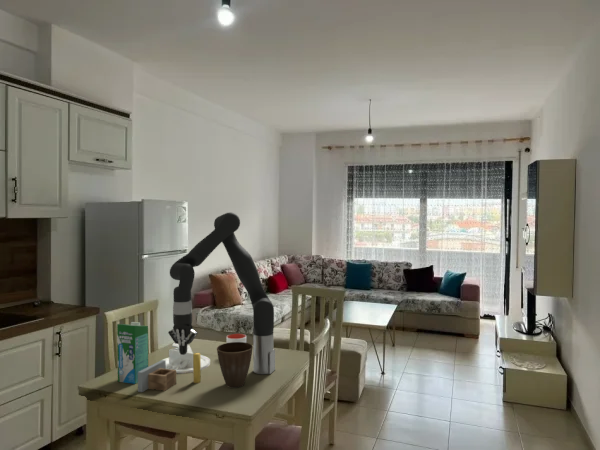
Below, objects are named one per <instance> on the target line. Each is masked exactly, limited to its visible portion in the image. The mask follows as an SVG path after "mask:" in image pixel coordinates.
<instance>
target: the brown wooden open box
mask: <svg viewBox="0 0 600 450" xmlns="http://www.w3.org/2000/svg"><path fill="white" fill-rule="evenodd" d="M174 386H177V373H176V370H173V369H164V368H159V369H157V370H155V371H153V372H152V373H150V374H148V389H147V390H154V389H156V390H157V391H161V390H163V391H162V392H165V391H167V390H170V389H171V388H172V387H174ZM156 390H155V391H156Z"/></svg>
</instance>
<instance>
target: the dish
mask: <svg viewBox="0 0 600 450" xmlns="http://www.w3.org/2000/svg"><path fill="white" fill-rule="evenodd" d="M171 347H172V348H171V349H168V357H166V358H163V359H162V360H165V361H166V369H173V370H176V374H187V373H188V374H190V373H193V354H194V352H193V350H192V347H191V346H190V344H188V345H187V353H186V354H184V355H181V354H180V352H179V345H178V344H175V342H174V341H173V343H172V345H171ZM173 347H174V348H173ZM200 361H201V371H202V370H204V369H206V368H208V367H209V366H210V365H211V358H209V357H207V356H205V355H202V354H200Z"/></svg>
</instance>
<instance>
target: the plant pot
mask: <svg viewBox="0 0 600 450" xmlns="http://www.w3.org/2000/svg"><path fill="white" fill-rule="evenodd" d="M216 351H217V358H218V364H219V367H220V370H221V374H222V377H223V379H224V382H225V385H226V386H227V387H228V388H233V389H236V388H240V387H243V386H244V385H245V383H246V381H247V376H248V374H249V371H250V367H251V361H252V357H253V356H252V355H253V344H251V343H249V342H246V343H244V342H231V343H227V342H225V343H221V344H219V345H217V347H216Z"/></svg>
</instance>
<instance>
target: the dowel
mask: <svg viewBox="0 0 600 450" xmlns="http://www.w3.org/2000/svg"><path fill="white" fill-rule="evenodd" d="M200 355H201V352H193V372H192V374H193V375H192V378H193V383H194V384H199V383H201V379H202V378H201V376H202V375H201V371H202V370H201V361H200Z"/></svg>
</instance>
